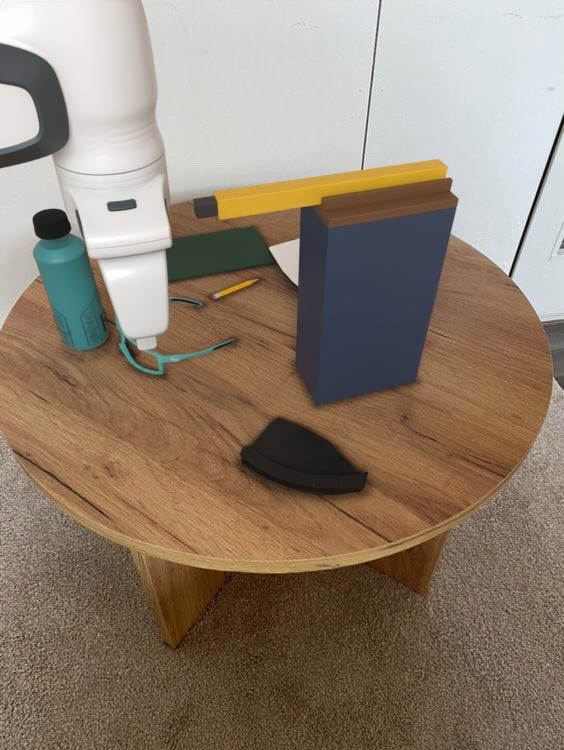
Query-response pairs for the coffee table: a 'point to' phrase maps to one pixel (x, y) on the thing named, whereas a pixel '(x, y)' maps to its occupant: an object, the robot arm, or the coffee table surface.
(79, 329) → the beverage bottle
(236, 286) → the pencil
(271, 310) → the coffee table surface
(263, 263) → the rubber mat
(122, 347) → the sunglasses
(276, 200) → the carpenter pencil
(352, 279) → the blue tall block
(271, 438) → the curved wedge
